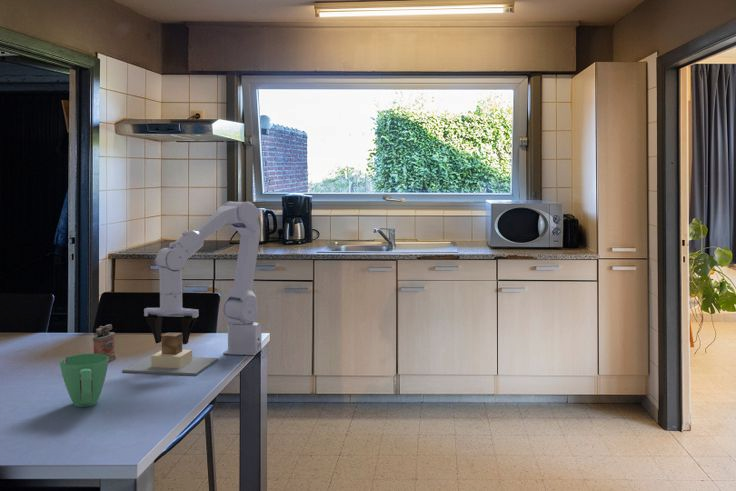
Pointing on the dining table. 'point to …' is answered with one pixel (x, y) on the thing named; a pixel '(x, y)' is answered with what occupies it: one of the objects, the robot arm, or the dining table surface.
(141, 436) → the dining table surface
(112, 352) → the lighter
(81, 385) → the mug
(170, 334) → the walnut block
